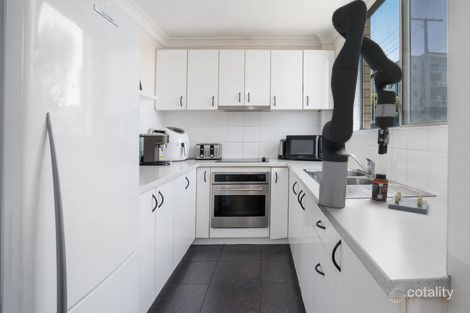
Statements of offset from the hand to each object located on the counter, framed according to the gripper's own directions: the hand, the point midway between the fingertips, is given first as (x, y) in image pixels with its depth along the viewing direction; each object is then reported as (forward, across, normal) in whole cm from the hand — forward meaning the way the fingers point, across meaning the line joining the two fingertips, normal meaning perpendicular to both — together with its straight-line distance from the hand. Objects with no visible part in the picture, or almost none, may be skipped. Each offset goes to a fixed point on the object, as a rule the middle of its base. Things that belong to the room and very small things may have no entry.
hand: (382, 154), depth 117 cm
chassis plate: (+20, +4, +11) cm, 23 cm away
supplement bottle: (+20, 0, 0) cm, 20 cm away
